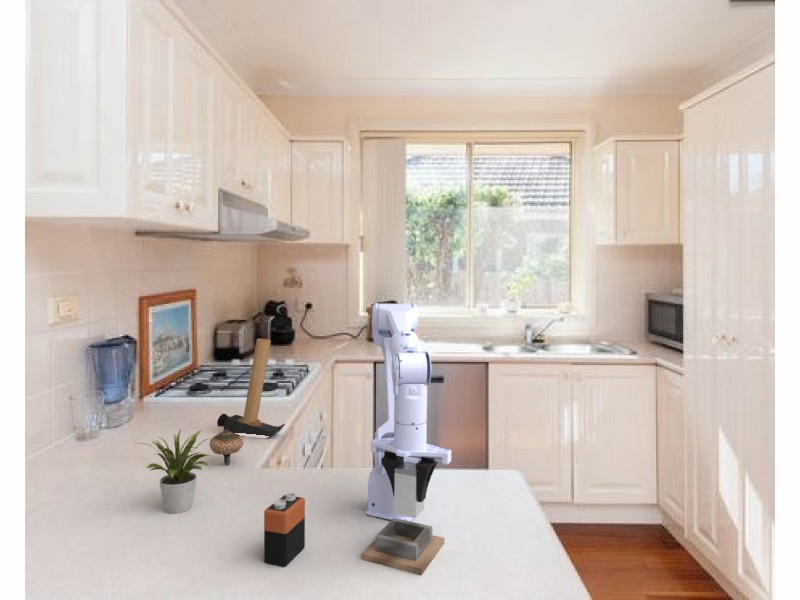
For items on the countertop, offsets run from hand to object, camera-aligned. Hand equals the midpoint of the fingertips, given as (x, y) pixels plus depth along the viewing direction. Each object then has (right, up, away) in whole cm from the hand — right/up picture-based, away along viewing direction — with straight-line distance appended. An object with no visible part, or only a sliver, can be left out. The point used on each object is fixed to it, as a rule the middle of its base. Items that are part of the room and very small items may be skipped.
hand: (409, 497), depth 89 cm
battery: (-21, -10, -2) cm, 24 cm away
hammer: (-47, -7, +66) cm, 81 cm away
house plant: (-48, -9, +15) cm, 51 cm away
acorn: (-46, -8, +40) cm, 61 cm away
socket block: (-1, -9, 0) cm, 9 cm away
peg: (0, -2, 0) cm, 2 cm away
